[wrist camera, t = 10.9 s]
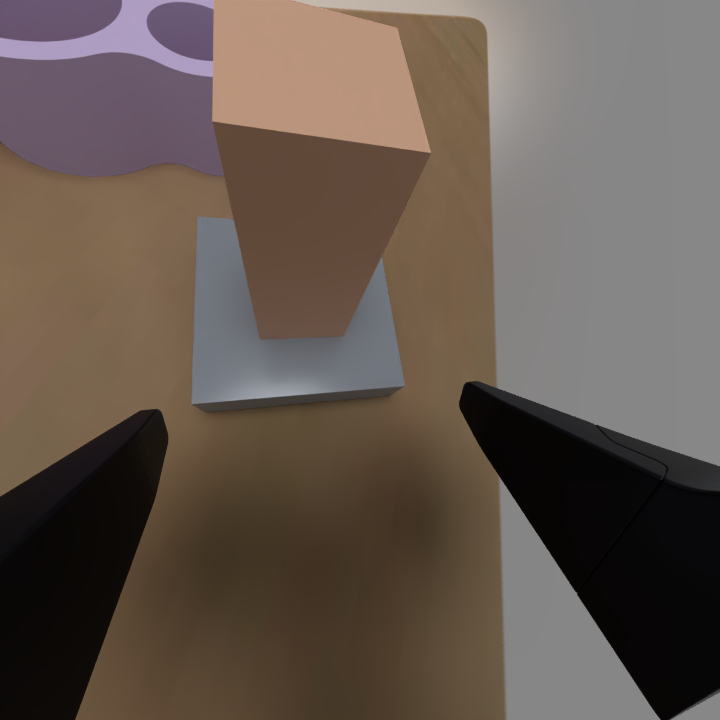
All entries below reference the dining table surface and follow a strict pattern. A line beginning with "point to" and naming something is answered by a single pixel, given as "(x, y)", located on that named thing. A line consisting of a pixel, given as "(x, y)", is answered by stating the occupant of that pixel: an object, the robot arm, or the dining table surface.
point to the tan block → (312, 155)
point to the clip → (108, 84)
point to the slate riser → (280, 340)
